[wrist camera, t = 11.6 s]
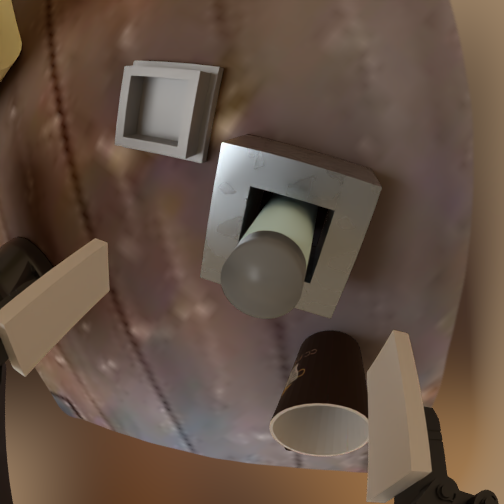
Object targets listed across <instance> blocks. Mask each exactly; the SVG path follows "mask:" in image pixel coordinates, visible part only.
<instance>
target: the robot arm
mask: <svg viewBox="0 0 504 504" xmlns="http://www.w3.org/2000/svg"><path fill="white" fill-rule="evenodd" d="M109 291H110V287H109V269H108V243H107V242H105V241H102V240H99V239H96V238H95V239H93V240H92V241H90V242H89V243H87V244H86V245H85V246H83V247H82V248H80V249H79V250H77V251H76V252H75V253H73V254H72V255H70V256H69V257H68V258H66V259H65V260H63V261H62V262H61V263H59V264H58V265H56V266H55V267H54V268H53V267H52V265H51V264H50V262H49V261H48V259H47V258H46V257H45V256H44V254H43V253H42V252H41V251H40V250H39V249H38V248H37V247H36V246H35V245H34V244H32V243H31V242H30V241H28V240H26V239H24V238H20V237H17V238H13V239H12V240H10V241H8V242H7V243H5V244H4V245H2V246H1V248H0V504H13V501H12V495H11V489H10V482H9V474H8V464H7V453H6V437H5V382H6V364H5V361H6V360H7V359H8V358H9V360H10V362H11V364H12V367H13V368H14V369H15V370H17V371H18V372H19V373H20V374H22V375H23V376H25V377H26V376H27V375H28V374H29V372H30V371H31V370H32V369H33V368H34V367H35V366H36V365H37V364H38V363H39V362H40V361H41V359H42V358H43V357H44V356H45V355H46V354H47V353H48V352H49V351H50V350H51V349H52V348H53V347H54V346H55V345H56V344H57V343H58V342H59V340H60V339H61V338H62V337H63V336H64V335H65V334H66V333H67V332H68V331H69V330H70V329H71V328H72V327H73V326H74V325H75V324H76V323H77V322H78V321H79V320H80V319H81V318H82V317H83V316H84V315H85V314H86V313H87V312H88V311H89V310H90V309H91V308H92V307H93V306H94V305H95V304H96V303H97V302H98V301H99V300H100V299H101V298H102V297H104V296H105V295H106V294H107V293H108V292H109ZM367 388H368V430H369V442H368V483H367V502H381V503H385V502H387V501H389V500H390V499H392V498H393V497H394V504H498V499H497V497H496V496H495V494H494V493H493V492H491V491H489V490H484V491H481V492H479V493H478V494H476V495H472V494H468V493H465V492H462V491H460V490H459V489H458V486H457V484H456V483H455V481H454V480H453V479H451V478H449V477H448V476H447V470H446V462H445V455H444V448H443V442H442V435H441V433H440V431H441V429H440V423H439V419H438V417H437V415H436V413H435V411H434V410H433V408H428V407H423V401H422V395H421V390H420V385H419V380H418V375H417V370H416V365H415V361H414V356H413V352H412V347H411V343H410V339H409V335H408V333H404V332H400V331H396V330H393V331H392V333H391V334H390V336H389V338H388V339H387V341H386V343H385V344H384V346H383V348H382V349H381V351H380V352H379V354H378V356H377V357H376V359H375V360H374V362H373V364H372V365H371V367H370V368H369V370H368V371H367Z"/></svg>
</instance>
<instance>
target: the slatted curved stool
mask: <svg viewBox="0 0 504 504" xmlns="http://www.w3.org/2000/svg"><path fill="white" fill-rule="evenodd" d="M21 48H22V41H21V38H20V34H19V30H18V26H17V23H16V18H15V14H14V10H13V6H12V1H11V0H0V82H1V81H2V79H3V77H4V76H5V75H6V73H7V72H8V70H9V69H10V67H11V66H12V65H13V63H14V62H15V60H16V59H17V57H18V56H19V54H20V51H21Z"/></svg>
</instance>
